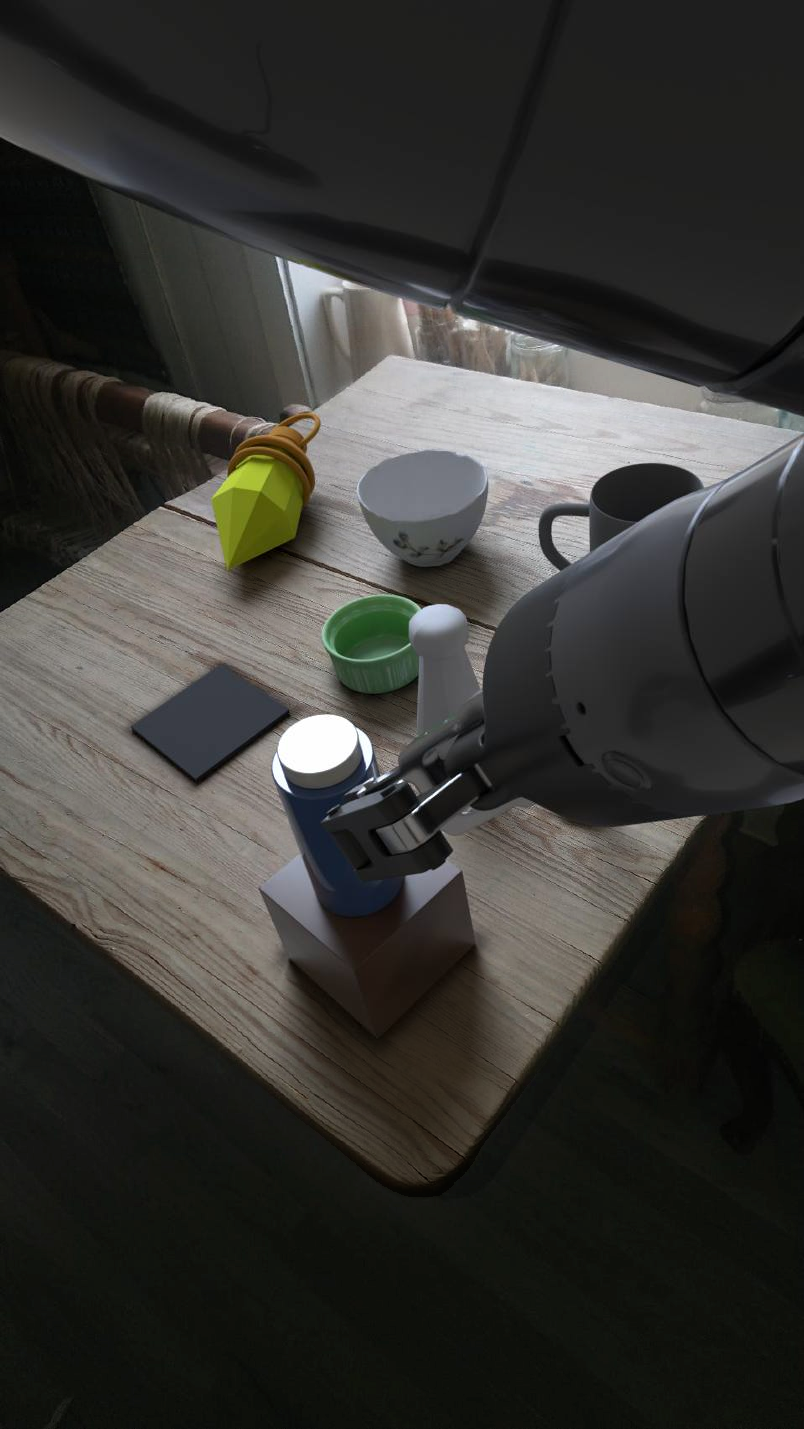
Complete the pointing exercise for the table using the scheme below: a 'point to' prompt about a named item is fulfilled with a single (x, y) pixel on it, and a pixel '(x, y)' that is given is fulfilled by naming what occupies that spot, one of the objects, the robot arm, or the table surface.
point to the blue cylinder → (328, 807)
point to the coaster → (209, 721)
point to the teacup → (425, 504)
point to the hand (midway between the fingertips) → (442, 755)
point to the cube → (374, 940)
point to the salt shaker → (441, 666)
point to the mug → (619, 503)
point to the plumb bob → (264, 492)
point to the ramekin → (372, 643)
